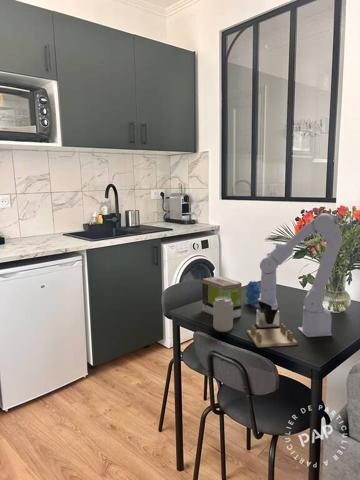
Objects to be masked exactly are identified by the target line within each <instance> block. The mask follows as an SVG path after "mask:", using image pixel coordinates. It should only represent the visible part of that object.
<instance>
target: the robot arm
mask: <svg viewBox="0 0 360 480" xmlns="http://www.w3.org/2000/svg"><path fill="white" fill-rule="evenodd" d="M316 234H319V235H321V236H322V237H323V239H324V240H325V243H326V246H325V249H324V251H323V254H322V257H321V259H320V263H319V266H318V269H317V271H316V274H315V277H314V279H313V282H312V285H311V287H310V289H309V290H308V291H307V293H306V296H305V297H304V299H303V301H302V302H303V310H302V326H298V327H297V329H298V330H299V331H300V332H301V333H302V334H303V335H304V336H305V337H307V338H311V337H312V338H314V337H329V336H332V335H333V334H332V313H331V311H330V310H329V309H328V308H325V307H324V306H323V303H324V301H325V294H324V293H325V291H326V288H327V286H328V282H329V279H330V276H331V274H332V272H333V268H334V266H335V263H336V260H337V257H338V255H339V253H340V249H341V247H342V245H343V237H342V233H341V229H340V227H339V223H338V220H336V218H335V217H334V216H333V215H332V214H331V213H330V212H329V213H327V212H323V213H320V214H319V215H318V216H317V217H315V218H314V219H312V220H311V221H309V222H307V223H306V224H305V225H304V226H302V227H301V228H300V230H299V231H298V232H296V233H295V234H294V235H293V236H292V238H290V239H289V240H288V241H287V242H281V243H277V244H276V245H275V248H274V249H273V250H272V251H271V252H268V253H267V254H266V257H263V259H262V260H261V262H259V268H260V271H261V274H260V275H261V276H260V291H261V293H260V296H259V298H258V304H257V305H258V307H259V310H261V309H264V310H265V313H266V321H267V324H273V321H274V318H275V315H276V313H277V311H279V310H280V307H279V305H278V303H277V269H278V267H279V266H280V265H282V264H283V263H284V262H286V261H287V259H289V258H290V256H292V255H293V253H294V249H295V248H296V246H298V245H299V244H300V243H301V242H302V241H304V240H305V239H306V238H308V237H309V236H311V235H316Z"/></svg>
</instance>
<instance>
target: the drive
mask: <svg viewBox="0 0 360 480" xmlns="http://www.w3.org/2000/svg"><path fill="white" fill-rule="evenodd" d="M255 313H256V314H255V317H256V318H255V320H256V321H255V324H256V326H257V327H258V328H259V329H260V328H273V327H274V328H275V327H280V311H279V310H278V311H277V313H276V315H275V318H274V321H273V324H267V321H266V313H265V310H264V309H256V312H255Z"/></svg>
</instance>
